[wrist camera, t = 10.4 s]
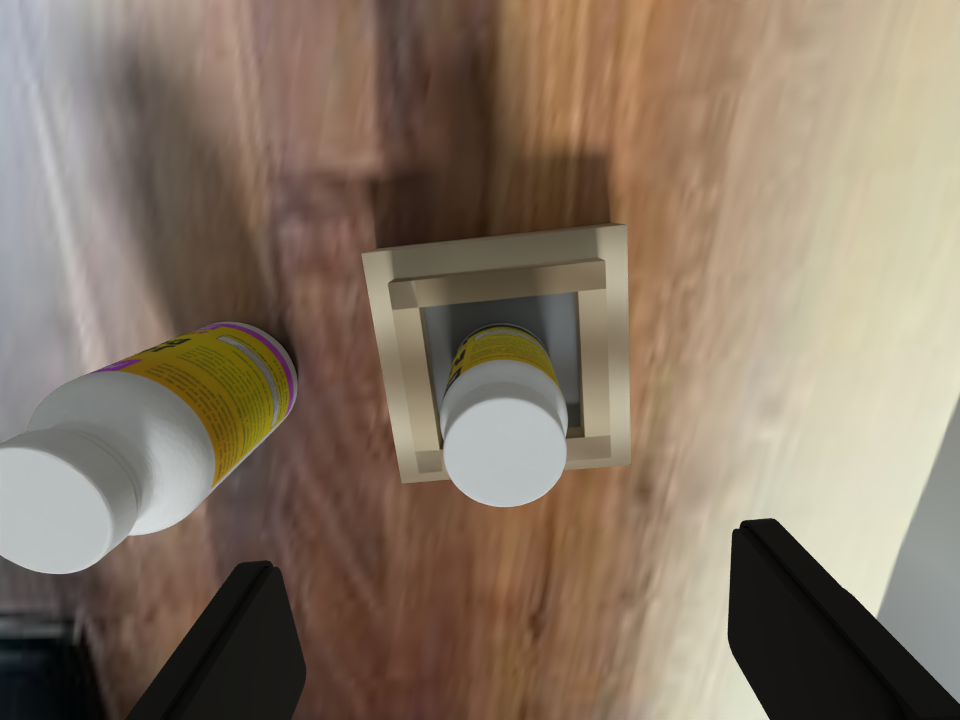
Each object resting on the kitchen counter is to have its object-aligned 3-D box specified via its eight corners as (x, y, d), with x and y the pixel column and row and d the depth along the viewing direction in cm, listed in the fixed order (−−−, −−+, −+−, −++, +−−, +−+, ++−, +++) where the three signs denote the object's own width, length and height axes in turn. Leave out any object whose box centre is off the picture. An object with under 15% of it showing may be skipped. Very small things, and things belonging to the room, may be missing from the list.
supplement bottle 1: (238, 293, 26) (7, 369, 13) (326, 384, 27) (189, 527, 15) (159, 368, 27) (-116, 498, 15) (246, 450, 29) (61, 632, 16)
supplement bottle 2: (451, 321, 23) (427, 382, 15) (551, 320, 22) (584, 382, 14) (453, 415, 24) (433, 518, 16) (548, 415, 24) (576, 519, 16)
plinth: (616, 438, 28) (638, 479, 23) (410, 455, 28) (396, 498, 24) (610, 222, 24) (636, 225, 20) (376, 248, 25) (352, 256, 21)
